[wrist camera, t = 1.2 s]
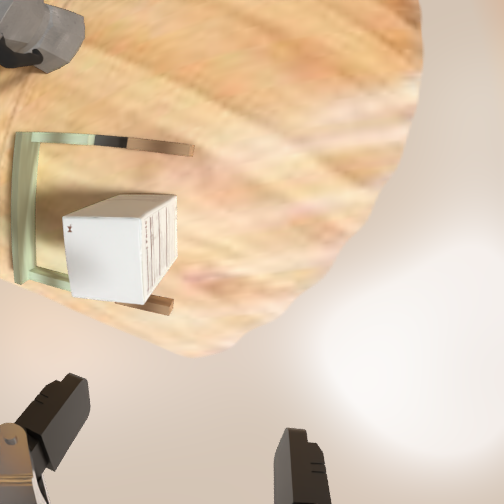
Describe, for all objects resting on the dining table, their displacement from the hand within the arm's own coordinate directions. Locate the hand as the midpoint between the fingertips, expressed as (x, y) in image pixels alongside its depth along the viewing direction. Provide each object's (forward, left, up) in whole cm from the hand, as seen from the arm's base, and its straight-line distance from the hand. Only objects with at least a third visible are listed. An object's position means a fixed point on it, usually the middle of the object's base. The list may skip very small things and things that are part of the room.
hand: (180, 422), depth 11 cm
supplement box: (-6, -7, -27) cm, 28 cm away
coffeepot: (-33, -6, -27) cm, 43 cm away
